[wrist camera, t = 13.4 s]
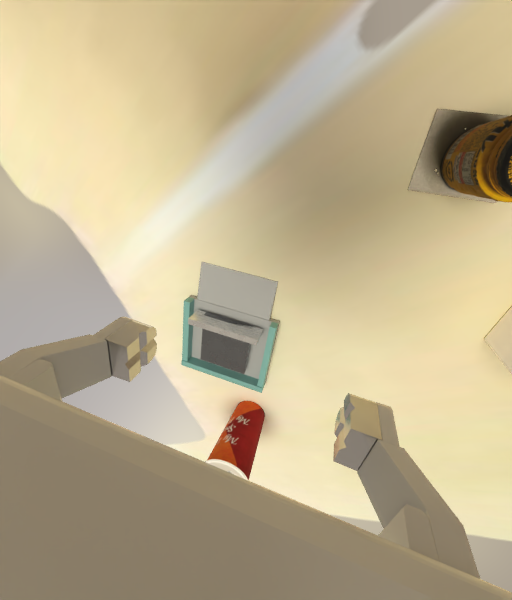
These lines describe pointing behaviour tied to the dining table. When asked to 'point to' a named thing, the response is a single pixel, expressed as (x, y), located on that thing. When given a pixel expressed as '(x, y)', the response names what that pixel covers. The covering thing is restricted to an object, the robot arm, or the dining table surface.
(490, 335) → the milk
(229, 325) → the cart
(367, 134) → the dining table surface
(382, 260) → the dining table surface
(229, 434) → the paper cup
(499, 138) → the condiment
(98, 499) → the robot arm
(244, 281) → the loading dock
